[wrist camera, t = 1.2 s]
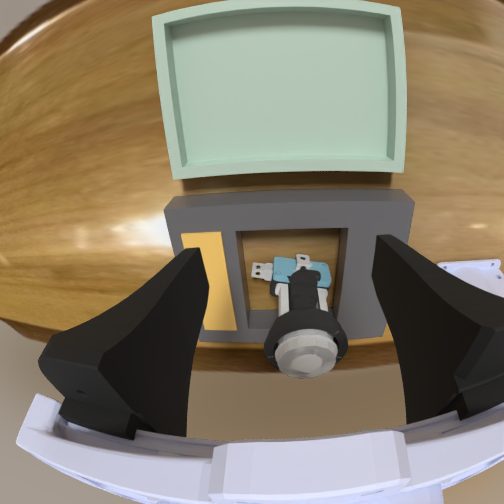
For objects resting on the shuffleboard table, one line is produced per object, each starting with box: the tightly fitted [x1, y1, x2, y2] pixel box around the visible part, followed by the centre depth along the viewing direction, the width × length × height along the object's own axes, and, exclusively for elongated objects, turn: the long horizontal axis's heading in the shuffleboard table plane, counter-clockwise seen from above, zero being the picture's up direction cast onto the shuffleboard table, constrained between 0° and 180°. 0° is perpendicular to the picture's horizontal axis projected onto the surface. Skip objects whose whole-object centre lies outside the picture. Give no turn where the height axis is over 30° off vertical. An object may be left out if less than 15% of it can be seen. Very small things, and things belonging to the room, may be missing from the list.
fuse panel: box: [164, 189, 415, 343], centre depth 24 cm, size 18×14×3 cm
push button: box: [251, 254, 348, 379], centre depth 21 cm, size 7×5×10 cm
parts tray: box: [152, 0, 407, 180], centre depth 16 cm, size 16×12×2 cm
